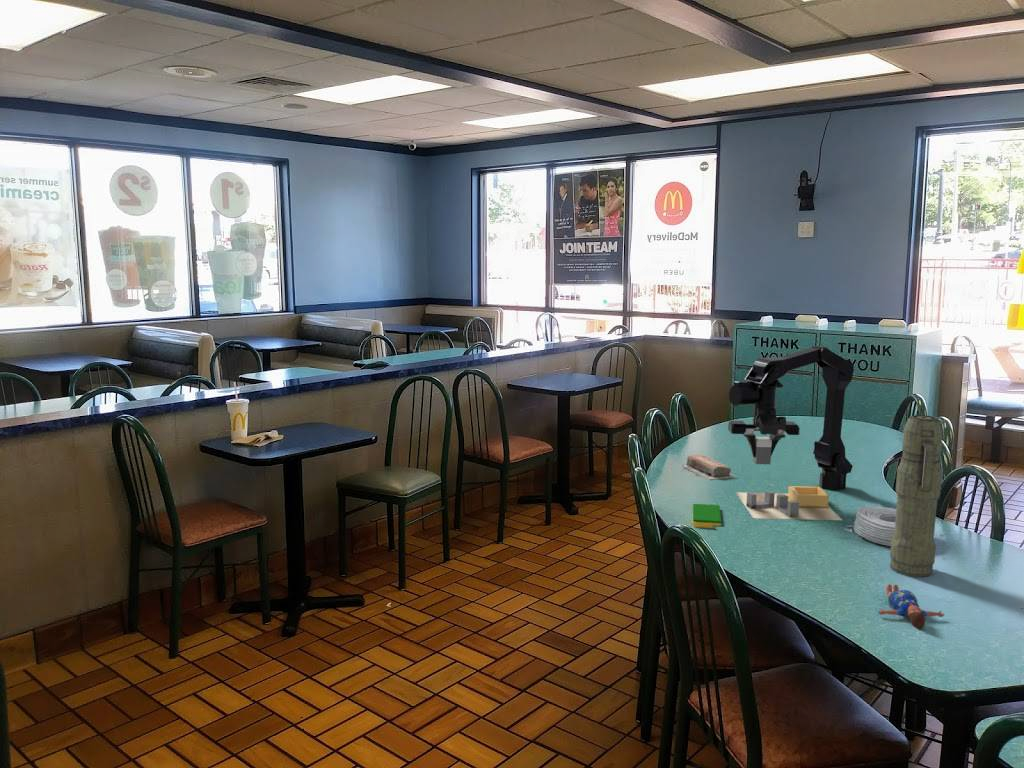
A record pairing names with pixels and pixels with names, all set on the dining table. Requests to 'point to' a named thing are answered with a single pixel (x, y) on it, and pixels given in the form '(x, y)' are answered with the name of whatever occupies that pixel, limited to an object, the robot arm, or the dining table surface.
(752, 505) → the clip
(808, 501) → the end holder
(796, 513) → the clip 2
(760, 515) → the board
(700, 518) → the dish sponge
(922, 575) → the thermos
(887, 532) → the cable
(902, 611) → the toy character
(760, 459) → the connector plug
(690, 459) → the packaged product
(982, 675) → the dining table surface
